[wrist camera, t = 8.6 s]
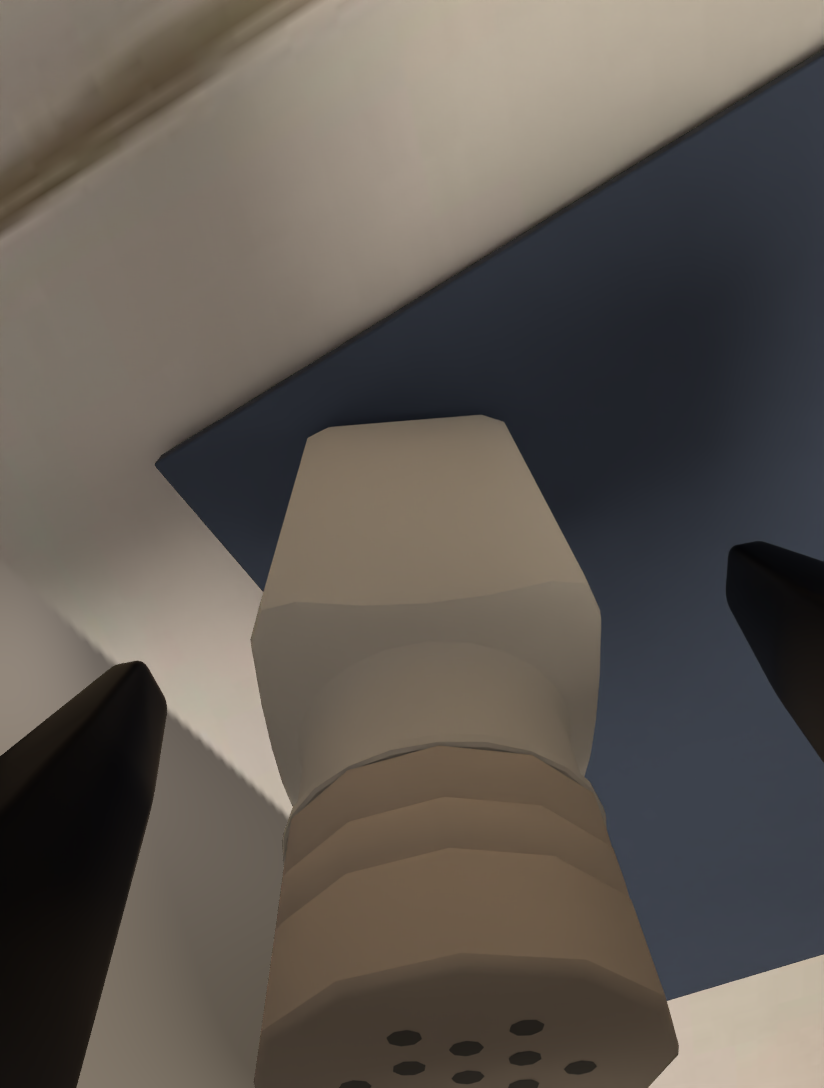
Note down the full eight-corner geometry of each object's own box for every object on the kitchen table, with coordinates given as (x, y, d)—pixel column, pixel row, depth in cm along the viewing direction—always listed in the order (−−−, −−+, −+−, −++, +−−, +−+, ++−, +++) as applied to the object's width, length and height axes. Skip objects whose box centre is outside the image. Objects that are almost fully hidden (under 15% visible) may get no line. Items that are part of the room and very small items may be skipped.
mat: (160, 455, 12) (152, 464, 12) (1156, -156, 9) (1196, -174, 8) (621, 999, 25) (626, 1013, 25) (1105, 852, 21) (1120, 866, 21)
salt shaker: (507, 401, 12) (805, 904, 4) (506, 575, 14) (691, 1149, 6) (299, 419, 12) (114, 960, 4) (328, 590, 14) (253, 1188, 6)
